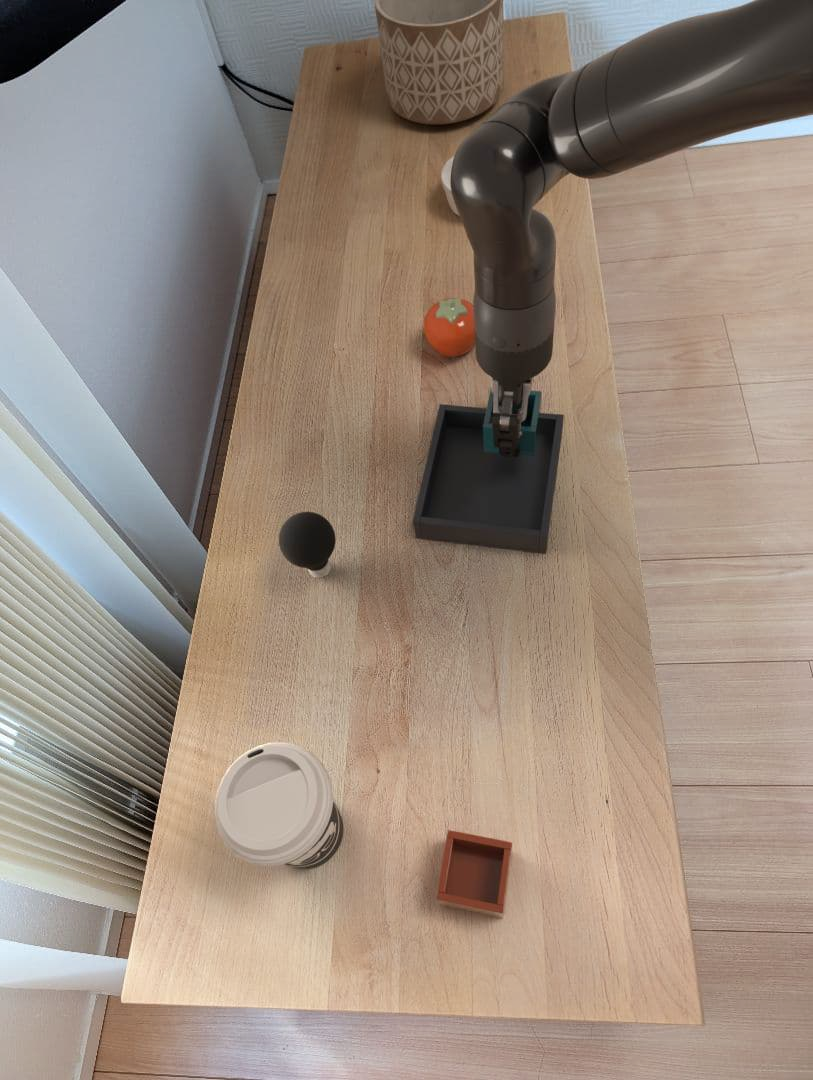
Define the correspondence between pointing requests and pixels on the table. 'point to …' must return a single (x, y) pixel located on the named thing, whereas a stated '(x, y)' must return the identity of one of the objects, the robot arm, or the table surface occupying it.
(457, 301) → the tomato
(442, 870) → the box brown
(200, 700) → the table surface
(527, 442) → the box teal
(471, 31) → the planter
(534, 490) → the tray
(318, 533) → the light bulb
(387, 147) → the table surface
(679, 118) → the robot arm
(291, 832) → the coffee cup
